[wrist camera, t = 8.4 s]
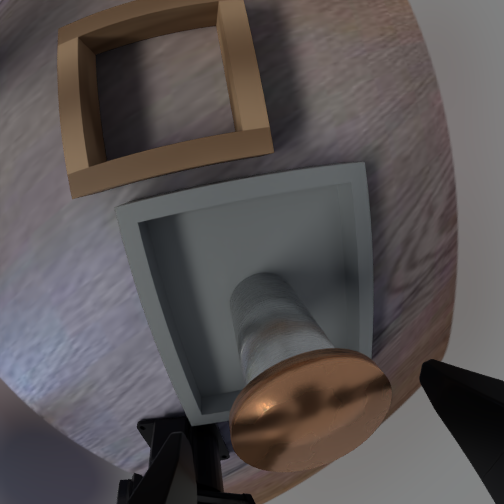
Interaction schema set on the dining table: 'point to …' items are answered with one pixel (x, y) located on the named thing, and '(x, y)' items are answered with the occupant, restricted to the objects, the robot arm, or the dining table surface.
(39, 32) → the dining table surface
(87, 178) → the square wooden frame
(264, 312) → the glass jar
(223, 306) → the tray
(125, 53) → the dining table surface
